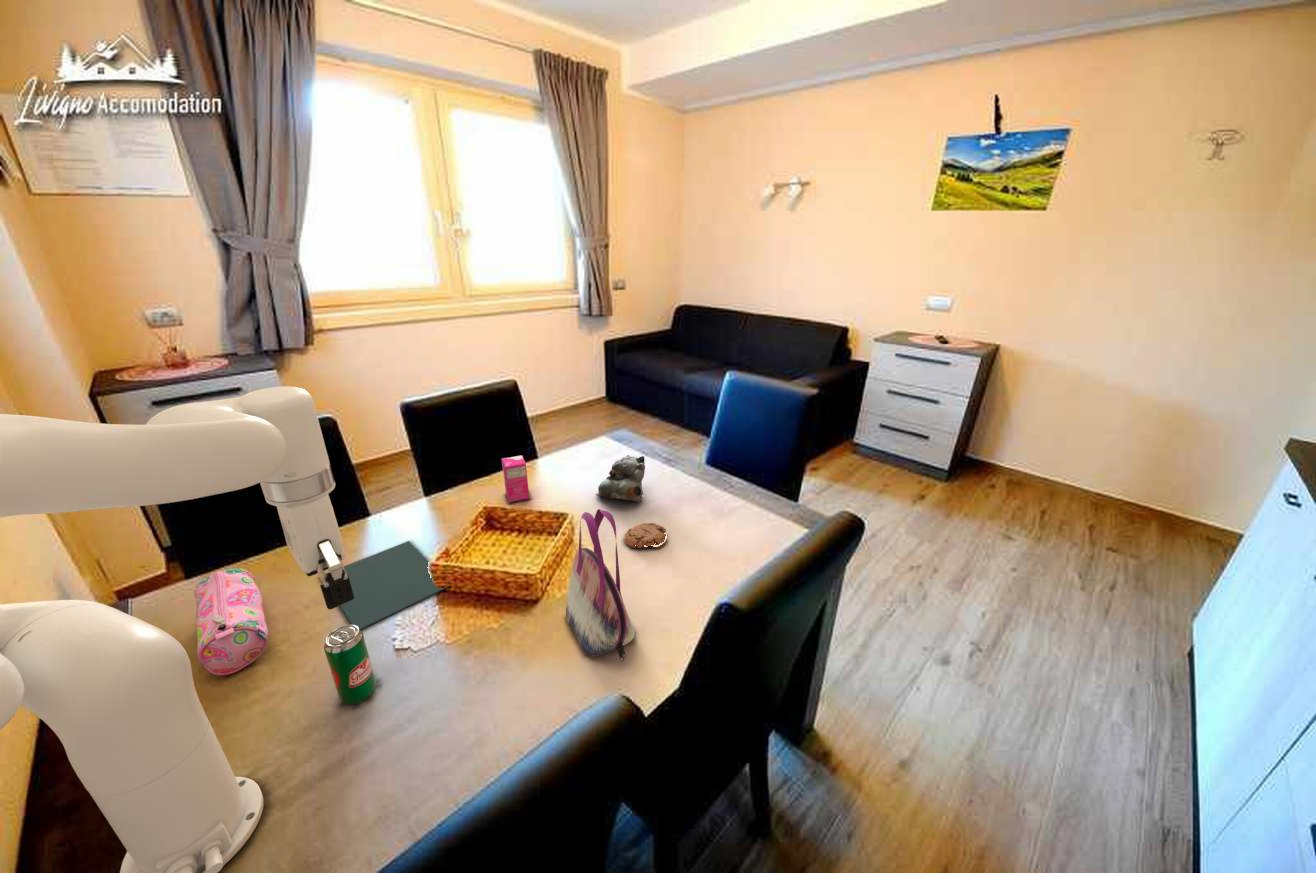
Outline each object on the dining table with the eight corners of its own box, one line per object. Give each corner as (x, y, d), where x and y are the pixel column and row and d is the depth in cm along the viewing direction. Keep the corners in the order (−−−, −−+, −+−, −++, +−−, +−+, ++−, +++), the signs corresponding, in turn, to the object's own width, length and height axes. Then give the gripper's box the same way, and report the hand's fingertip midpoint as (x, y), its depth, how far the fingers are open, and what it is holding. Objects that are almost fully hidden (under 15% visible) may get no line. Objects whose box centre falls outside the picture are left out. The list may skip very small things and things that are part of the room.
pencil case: (275, 659, 82) (261, 618, 79) (204, 689, 76) (185, 646, 73) (263, 593, 97) (250, 556, 93) (203, 614, 91) (187, 575, 88)
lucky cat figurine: (588, 494, 138) (598, 446, 139) (623, 500, 145) (633, 455, 146) (613, 502, 126) (625, 450, 127) (650, 508, 132) (661, 459, 134)
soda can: (360, 709, 74) (343, 651, 69) (332, 703, 75) (313, 644, 70) (384, 682, 79) (369, 625, 74) (357, 676, 79) (341, 620, 75)
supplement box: (505, 494, 137) (501, 458, 132) (526, 490, 139) (523, 454, 135) (508, 504, 132) (504, 466, 127) (530, 500, 134) (527, 463, 130)
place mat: (452, 586, 100) (451, 584, 100) (356, 632, 88) (356, 630, 88) (408, 542, 114) (408, 540, 114) (321, 577, 102) (320, 575, 102)
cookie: (617, 537, 119) (617, 527, 118) (651, 524, 125) (651, 514, 124) (640, 557, 111) (640, 546, 110) (675, 542, 117) (676, 532, 116)
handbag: (650, 658, 85) (654, 539, 75) (598, 681, 80) (595, 557, 70) (601, 586, 102) (600, 482, 92) (556, 602, 97) (549, 493, 88)
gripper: (248, 469, 65) (283, 571, 72) (280, 518, 55) (317, 633, 61) (313, 453, 70) (339, 550, 77) (353, 495, 60) (380, 603, 66)
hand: (329, 586), depth 69 cm, fingers open, 9 cm apart
